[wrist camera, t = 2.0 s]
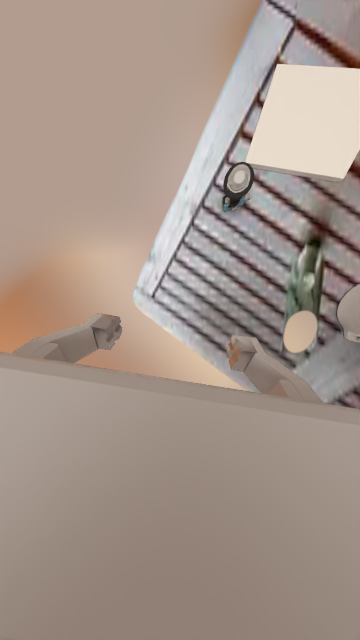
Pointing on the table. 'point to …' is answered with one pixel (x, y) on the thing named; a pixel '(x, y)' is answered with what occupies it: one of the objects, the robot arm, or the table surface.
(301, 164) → the board
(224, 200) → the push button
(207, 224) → the table surface
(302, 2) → the table surface
